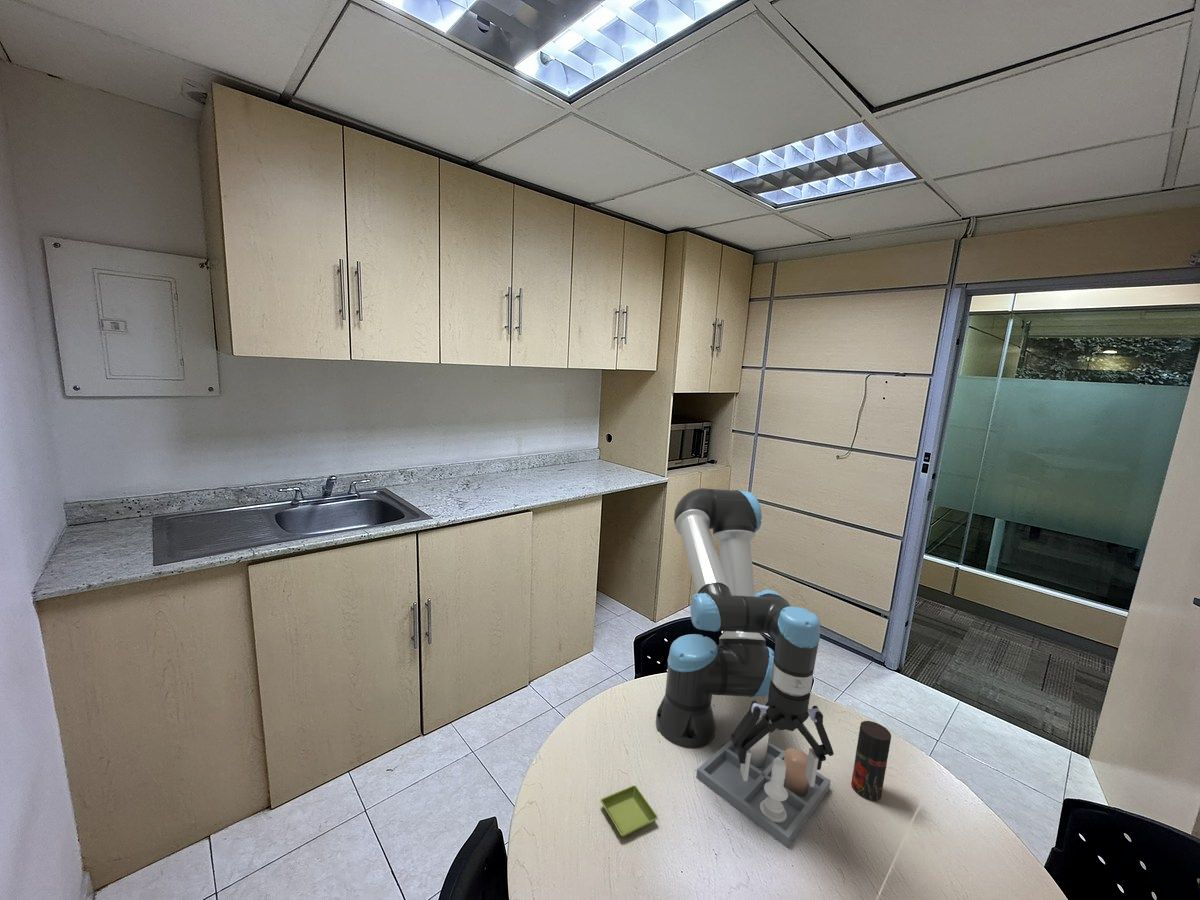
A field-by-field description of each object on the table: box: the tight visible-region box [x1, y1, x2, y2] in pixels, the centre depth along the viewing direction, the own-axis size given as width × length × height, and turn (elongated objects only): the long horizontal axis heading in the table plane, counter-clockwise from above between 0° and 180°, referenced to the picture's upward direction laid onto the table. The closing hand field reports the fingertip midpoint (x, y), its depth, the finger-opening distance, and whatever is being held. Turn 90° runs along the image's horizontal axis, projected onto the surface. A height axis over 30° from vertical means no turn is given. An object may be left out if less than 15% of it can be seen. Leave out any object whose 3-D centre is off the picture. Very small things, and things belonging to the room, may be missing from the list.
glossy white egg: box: [750, 723, 770, 768], centre depth 111 cm, size 6×6×7 cm
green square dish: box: [600, 785, 659, 837], centre depth 95 cm, size 9×9×2 cm
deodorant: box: [850, 720, 892, 802], centre depth 104 cm, size 6×6×15 cm
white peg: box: [760, 757, 788, 823], centre depth 97 cm, size 5×5×12 cm
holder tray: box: [695, 738, 832, 848], centre depth 105 cm, size 21×21×2 cm
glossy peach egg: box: [784, 747, 809, 797], centre depth 104 cm, size 6×6×7 cm
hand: (776, 778), depth 97 cm, fingers open, 13 cm apart
